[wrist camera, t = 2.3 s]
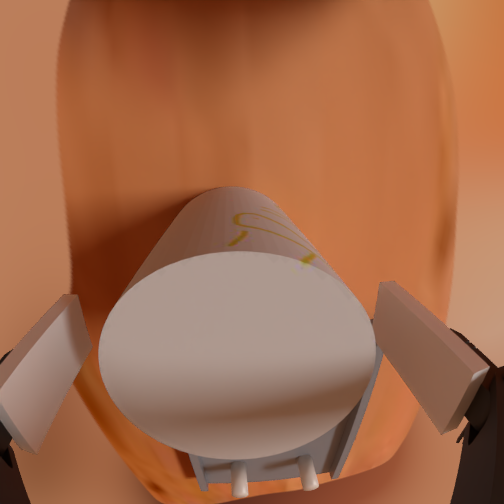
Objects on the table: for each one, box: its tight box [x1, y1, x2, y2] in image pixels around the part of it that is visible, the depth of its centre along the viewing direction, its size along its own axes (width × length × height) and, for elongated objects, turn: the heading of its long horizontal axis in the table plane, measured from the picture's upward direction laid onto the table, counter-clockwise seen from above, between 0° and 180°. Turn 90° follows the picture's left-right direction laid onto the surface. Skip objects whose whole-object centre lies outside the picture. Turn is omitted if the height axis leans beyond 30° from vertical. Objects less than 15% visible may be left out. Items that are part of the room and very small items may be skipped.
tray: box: [188, 319, 383, 498], centre depth 23 cm, size 22×16×5 cm
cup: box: [99, 187, 376, 460], centre depth 14 cm, size 8×8×12 cm
